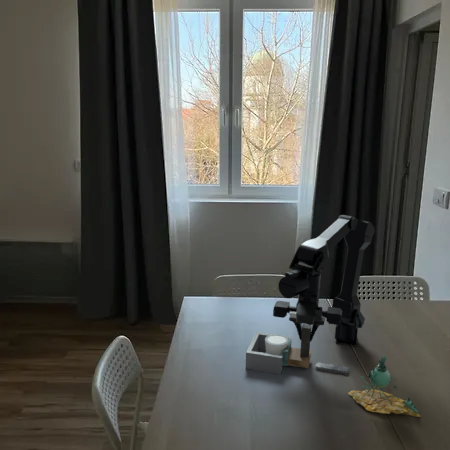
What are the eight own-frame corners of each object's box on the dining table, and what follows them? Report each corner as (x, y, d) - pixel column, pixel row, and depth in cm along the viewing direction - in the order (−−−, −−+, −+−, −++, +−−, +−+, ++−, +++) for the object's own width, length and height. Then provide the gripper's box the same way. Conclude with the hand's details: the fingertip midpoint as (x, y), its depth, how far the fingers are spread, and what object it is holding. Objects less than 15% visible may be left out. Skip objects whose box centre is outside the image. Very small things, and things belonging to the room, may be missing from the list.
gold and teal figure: (410, 432, 107) (410, 372, 104) (339, 407, 119) (337, 353, 116) (425, 413, 114) (425, 356, 111) (356, 391, 126) (355, 339, 123)
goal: (288, 351, 142) (288, 336, 141) (281, 374, 130) (281, 358, 129) (255, 346, 145) (256, 331, 144) (245, 368, 132) (246, 352, 131)
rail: (348, 370, 132) (348, 367, 132) (348, 374, 130) (348, 371, 130) (316, 365, 135) (316, 362, 135) (315, 369, 133) (315, 366, 132)
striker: (311, 355, 138) (313, 321, 135) (308, 369, 130) (310, 333, 128) (286, 351, 139) (288, 318, 137) (282, 365, 132) (284, 329, 129)
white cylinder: (287, 368, 133) (288, 345, 131) (263, 366, 134) (264, 343, 132) (288, 356, 139) (288, 334, 138) (265, 354, 140) (265, 333, 139)
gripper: (270, 295, 124) (268, 348, 128) (342, 303, 119) (338, 358, 123) (277, 281, 134) (275, 331, 138) (343, 288, 130) (339, 340, 133)
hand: (305, 340), depth 133 cm, fingers closed on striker, 2 cm apart
